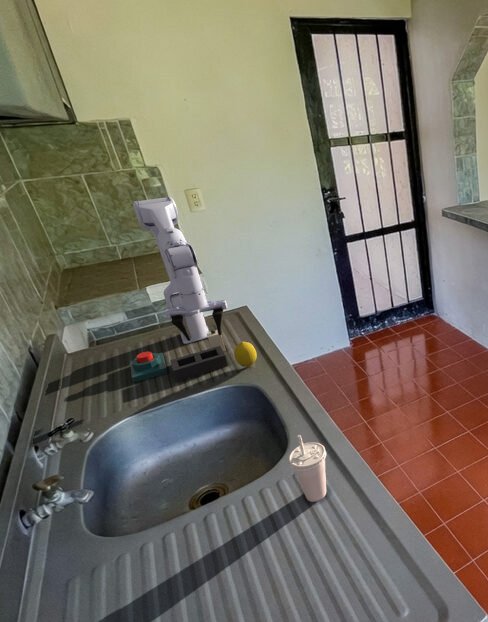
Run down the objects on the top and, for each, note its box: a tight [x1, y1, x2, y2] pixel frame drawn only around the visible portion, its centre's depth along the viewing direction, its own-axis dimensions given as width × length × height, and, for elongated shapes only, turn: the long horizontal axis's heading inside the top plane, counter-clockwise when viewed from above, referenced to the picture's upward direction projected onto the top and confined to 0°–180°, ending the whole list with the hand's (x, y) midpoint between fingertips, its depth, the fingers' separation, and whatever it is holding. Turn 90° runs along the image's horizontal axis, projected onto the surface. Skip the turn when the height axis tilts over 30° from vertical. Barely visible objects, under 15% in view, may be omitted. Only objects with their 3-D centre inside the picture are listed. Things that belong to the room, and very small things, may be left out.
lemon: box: [233, 341, 258, 368], centre depth 126 cm, size 6×6×8 cm
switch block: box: [129, 352, 168, 384], centre depth 128 cm, size 11×8×4 cm
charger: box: [207, 328, 226, 352], centre depth 136 cm, size 3×3×7 cm
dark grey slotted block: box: [170, 346, 229, 382], centre depth 128 cm, size 7×13×4 cm, turn 126°
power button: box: [135, 351, 153, 363], centre depth 127 cm, size 4×4×2 cm
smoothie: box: [288, 434, 327, 503], centre depth 82 cm, size 6×6×14 cm
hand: (205, 336), depth 125 cm, fingers open, 7 cm apart
